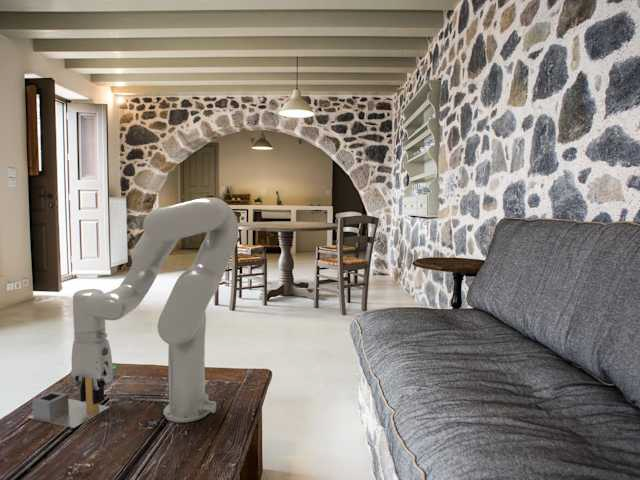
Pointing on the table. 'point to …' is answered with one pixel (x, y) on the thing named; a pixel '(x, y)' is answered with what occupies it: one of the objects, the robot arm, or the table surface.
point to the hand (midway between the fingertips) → (92, 400)
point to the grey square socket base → (61, 410)
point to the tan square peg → (90, 396)
